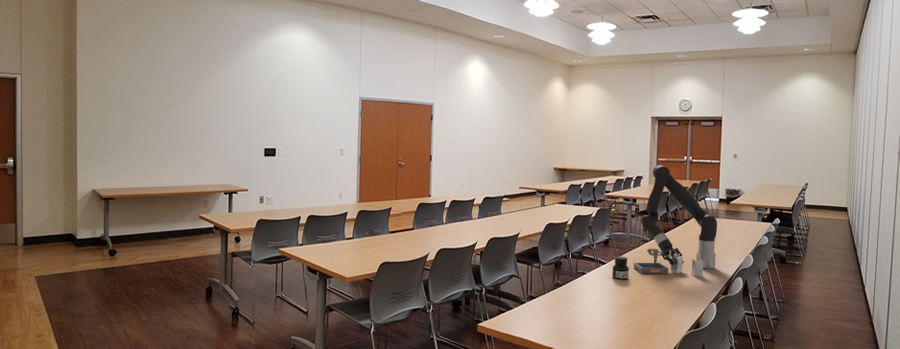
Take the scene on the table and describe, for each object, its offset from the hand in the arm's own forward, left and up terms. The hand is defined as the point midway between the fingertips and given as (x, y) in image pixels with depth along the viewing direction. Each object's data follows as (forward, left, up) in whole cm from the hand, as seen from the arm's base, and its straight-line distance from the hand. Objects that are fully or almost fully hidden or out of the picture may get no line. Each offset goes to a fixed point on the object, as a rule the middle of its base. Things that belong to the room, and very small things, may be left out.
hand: (677, 264), depth 343 cm
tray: (+15, -3, -5) cm, 16 cm away
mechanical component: (+6, -20, -5) cm, 21 cm away
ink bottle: (+39, +15, -5) cm, 43 cm away
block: (0, -1, -5) cm, 5 cm away
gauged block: (-9, +7, -5) cm, 12 cm away
